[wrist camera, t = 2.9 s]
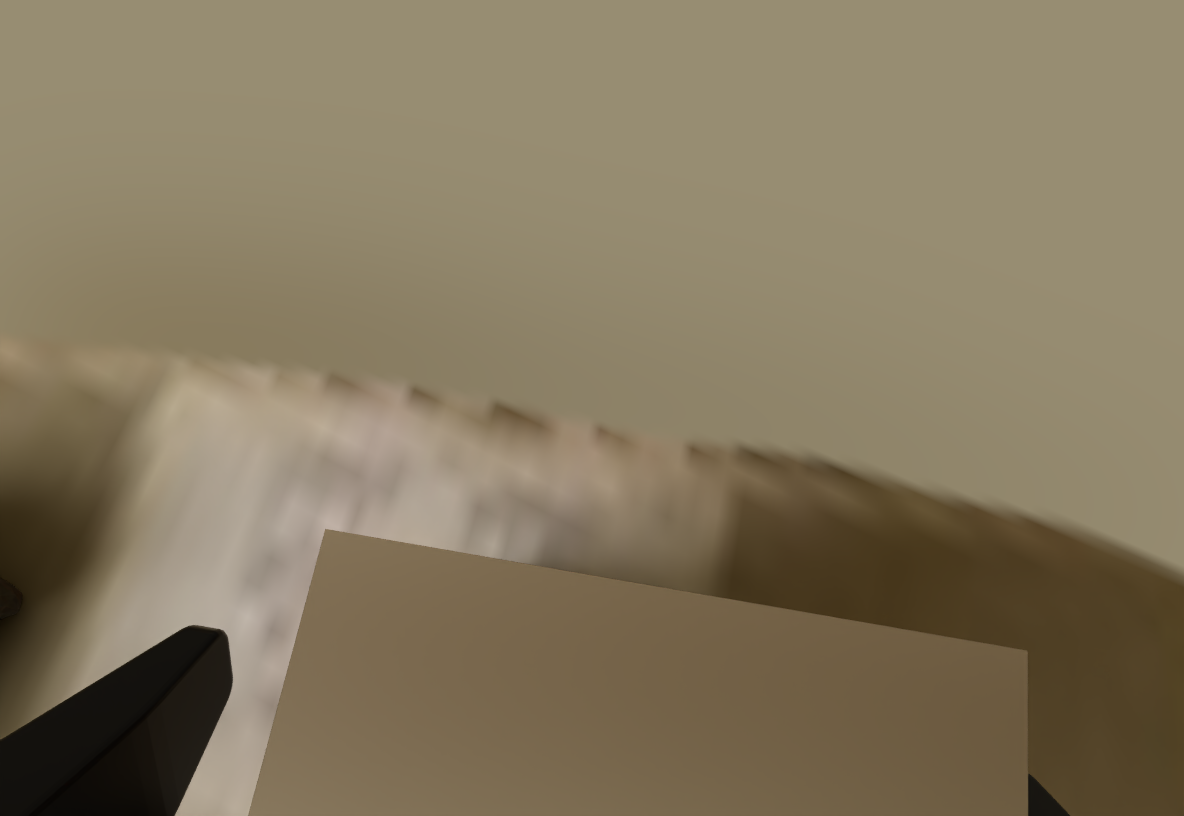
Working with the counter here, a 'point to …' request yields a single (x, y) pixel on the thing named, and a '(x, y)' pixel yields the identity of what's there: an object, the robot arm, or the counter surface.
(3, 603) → the hand tool
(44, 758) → the robot arm
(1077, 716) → the counter surface
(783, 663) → the beige pillar on base
